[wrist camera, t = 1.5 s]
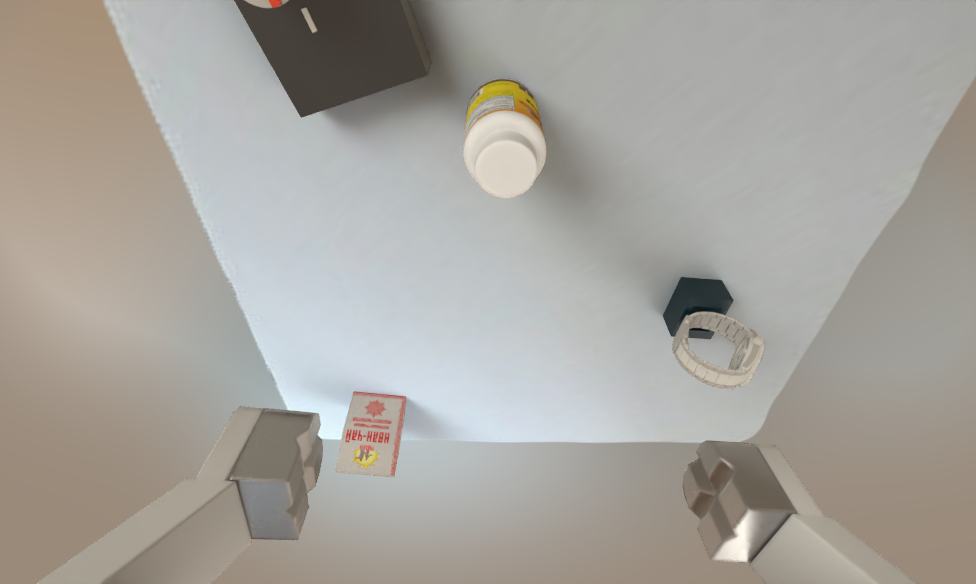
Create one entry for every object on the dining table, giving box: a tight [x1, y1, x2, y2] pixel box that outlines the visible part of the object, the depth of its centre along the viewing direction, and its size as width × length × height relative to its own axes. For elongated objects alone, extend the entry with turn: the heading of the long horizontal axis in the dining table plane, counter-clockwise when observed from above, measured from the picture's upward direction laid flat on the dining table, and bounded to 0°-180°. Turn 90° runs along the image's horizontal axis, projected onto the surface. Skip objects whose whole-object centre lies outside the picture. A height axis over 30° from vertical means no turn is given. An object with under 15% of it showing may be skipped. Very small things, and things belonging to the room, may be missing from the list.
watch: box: [663, 277, 765, 389], centre depth 46 cm, size 6×8×11 cm
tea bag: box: [335, 392, 406, 477], centre depth 58 cm, size 4×7×10 cm, turn 80°
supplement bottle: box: [464, 78, 546, 198], centre depth 33 cm, size 6×6×10 cm
